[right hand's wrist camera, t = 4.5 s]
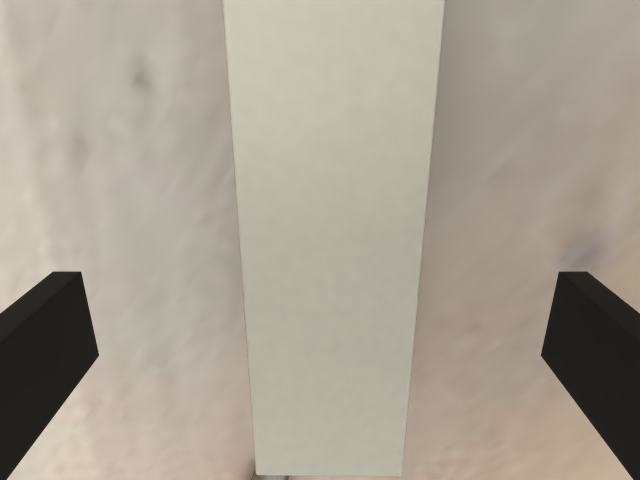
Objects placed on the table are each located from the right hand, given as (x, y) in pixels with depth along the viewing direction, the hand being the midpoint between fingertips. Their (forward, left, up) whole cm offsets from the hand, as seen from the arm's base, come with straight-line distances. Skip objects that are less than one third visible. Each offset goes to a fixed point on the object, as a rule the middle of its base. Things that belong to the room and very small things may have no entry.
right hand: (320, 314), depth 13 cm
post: (+27, -13, -10) cm, 32 cm away
